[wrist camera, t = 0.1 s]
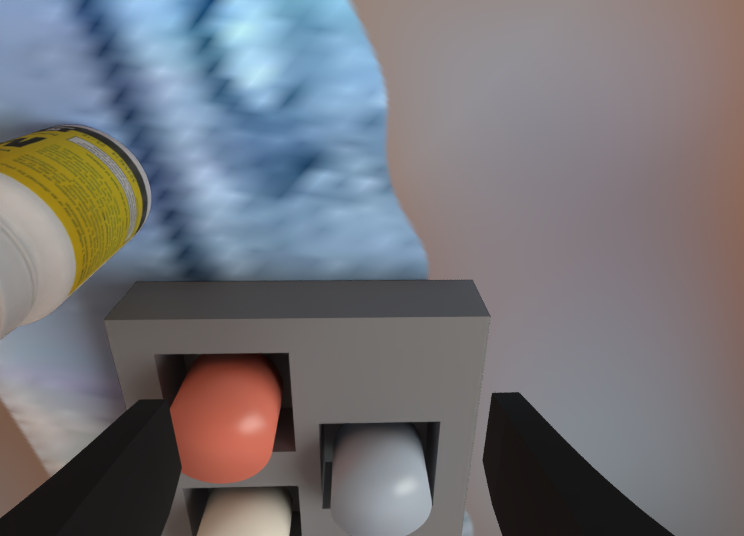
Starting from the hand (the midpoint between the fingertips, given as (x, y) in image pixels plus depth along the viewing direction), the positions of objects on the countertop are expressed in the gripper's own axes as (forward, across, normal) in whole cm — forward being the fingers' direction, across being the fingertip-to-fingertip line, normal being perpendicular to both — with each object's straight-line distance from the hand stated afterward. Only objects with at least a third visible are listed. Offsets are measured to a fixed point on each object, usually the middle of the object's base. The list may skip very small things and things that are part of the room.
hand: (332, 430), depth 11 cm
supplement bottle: (+10, +9, -3) cm, 14 cm away
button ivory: (+8, +4, +12) cm, 16 cm away
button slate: (+8, -1, +9) cm, 12 cm away
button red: (+8, +4, +5) cm, 11 cm away
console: (+10, +2, +9) cm, 13 cm away
